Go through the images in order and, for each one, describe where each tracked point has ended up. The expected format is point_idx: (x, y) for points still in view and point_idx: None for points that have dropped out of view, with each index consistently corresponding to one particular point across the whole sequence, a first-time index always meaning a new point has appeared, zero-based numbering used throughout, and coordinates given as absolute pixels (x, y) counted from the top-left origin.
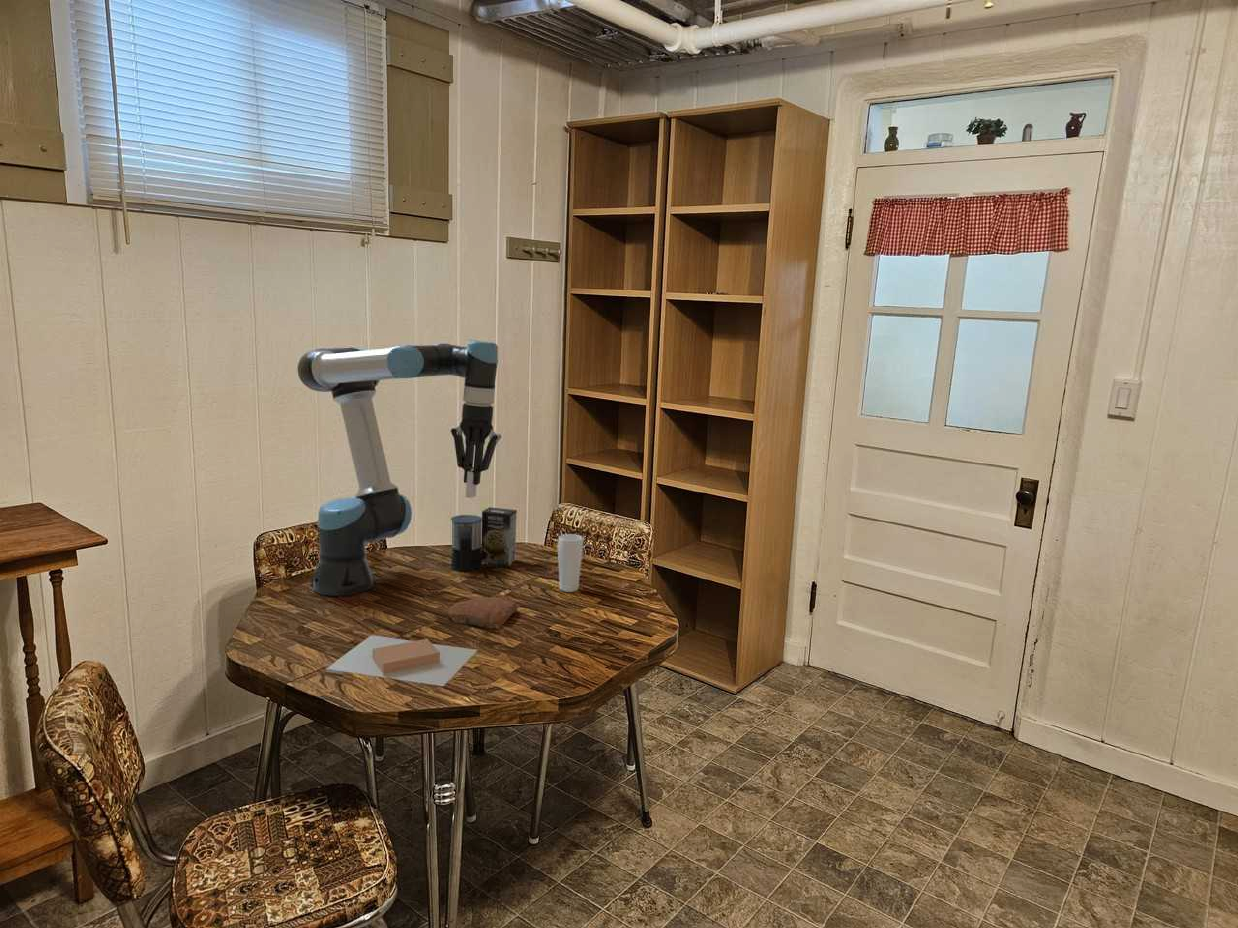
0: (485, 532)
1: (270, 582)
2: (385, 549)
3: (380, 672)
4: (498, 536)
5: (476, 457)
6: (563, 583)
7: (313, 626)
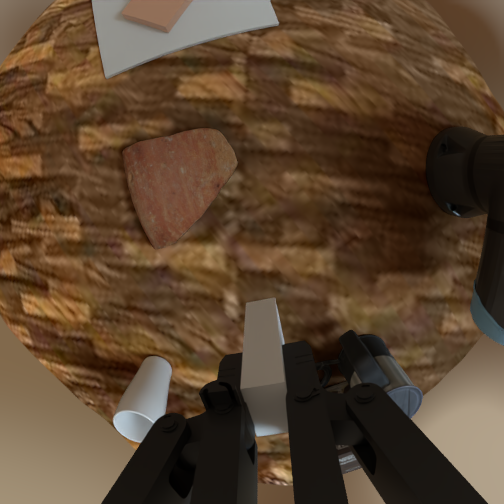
0: None
1: None
2: None
3: None
4: None
5: (215, 490)
6: (152, 362)
7: (378, 26)
